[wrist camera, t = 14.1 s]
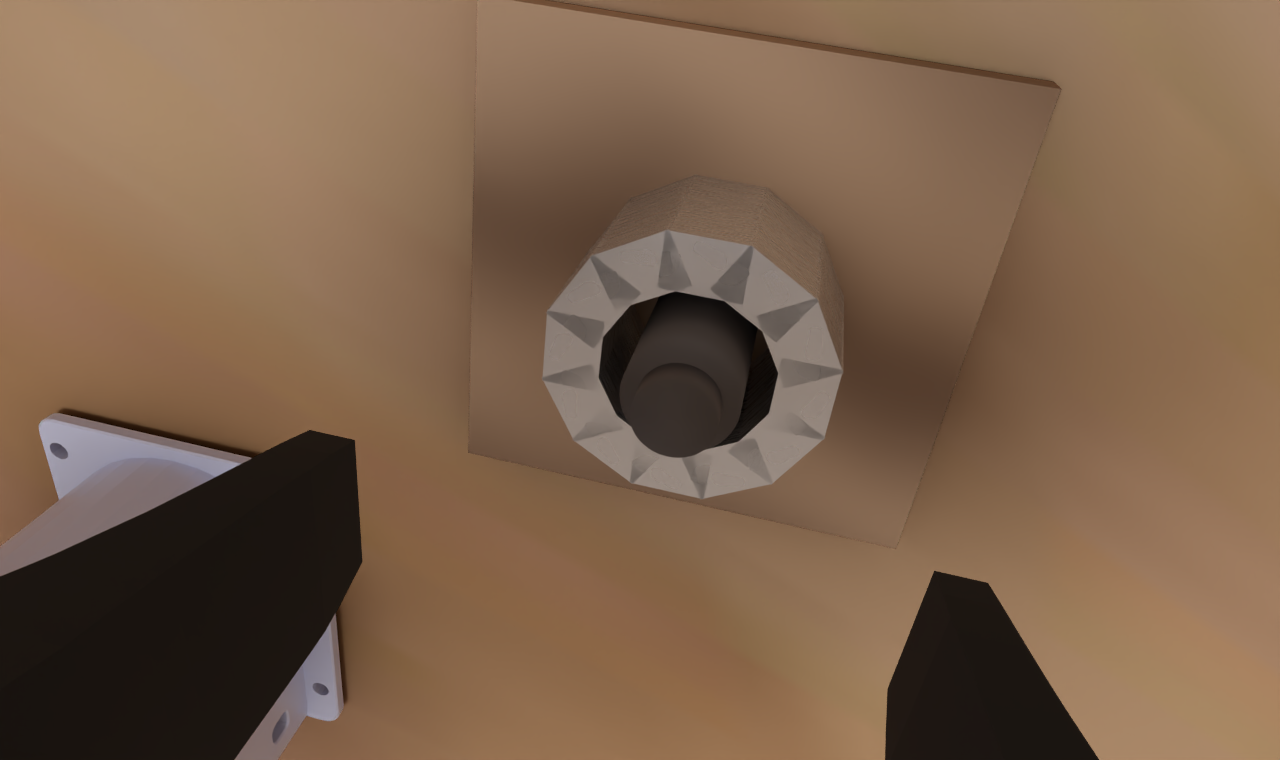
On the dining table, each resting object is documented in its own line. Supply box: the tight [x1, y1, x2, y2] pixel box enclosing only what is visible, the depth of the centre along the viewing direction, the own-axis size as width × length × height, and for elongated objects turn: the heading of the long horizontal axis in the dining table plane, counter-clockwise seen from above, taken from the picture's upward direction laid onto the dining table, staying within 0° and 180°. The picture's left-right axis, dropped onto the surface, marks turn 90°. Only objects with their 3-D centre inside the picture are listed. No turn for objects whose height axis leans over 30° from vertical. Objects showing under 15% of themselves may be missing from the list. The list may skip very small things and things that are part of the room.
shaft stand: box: [468, 0, 1061, 549], centre depth 16 cm, size 10×10×5 cm
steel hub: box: [542, 174, 844, 499], centre depth 16 cm, size 5×5×3 cm
